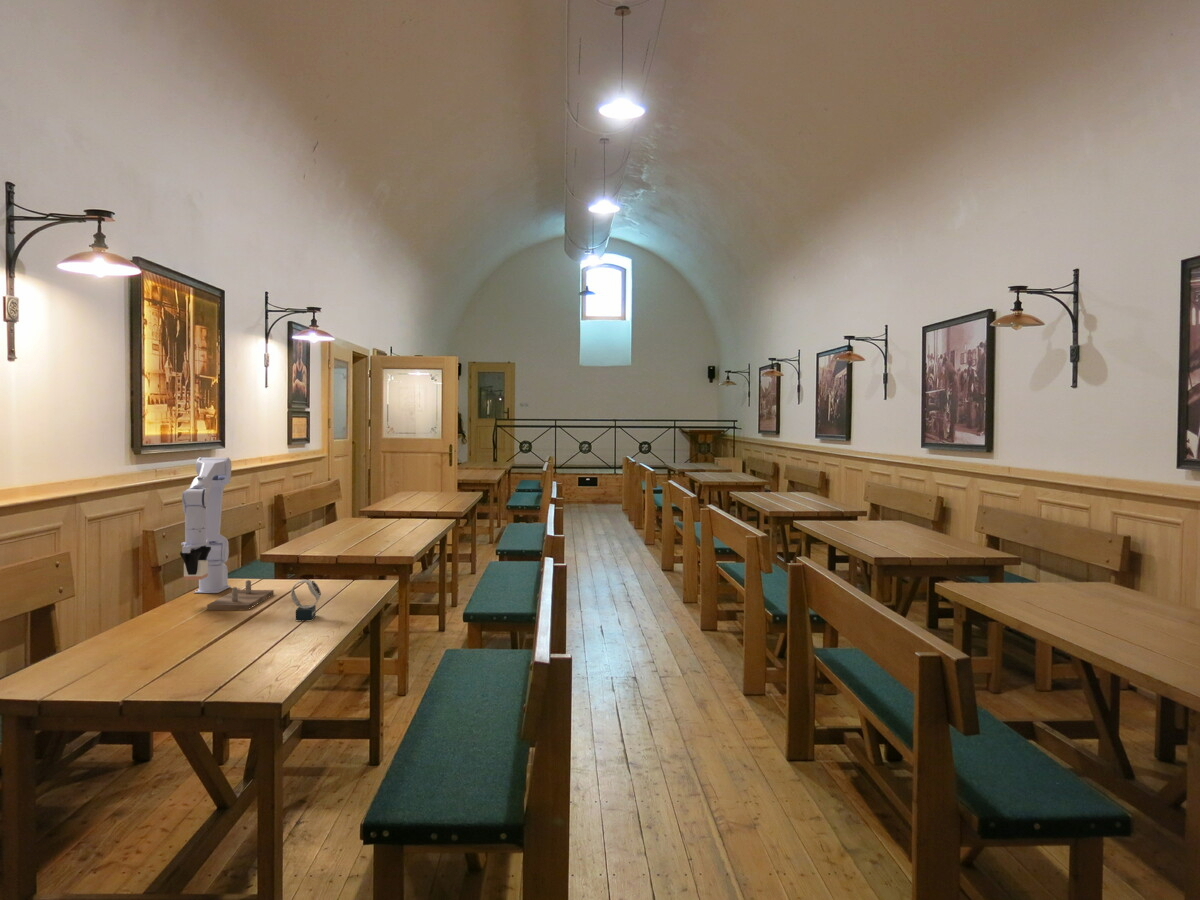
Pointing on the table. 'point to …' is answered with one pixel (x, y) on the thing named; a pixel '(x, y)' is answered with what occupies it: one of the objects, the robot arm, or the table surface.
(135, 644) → the table surface
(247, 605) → the pin board
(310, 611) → the watch
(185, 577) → the sleeve
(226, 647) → the table surface
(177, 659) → the table surface
